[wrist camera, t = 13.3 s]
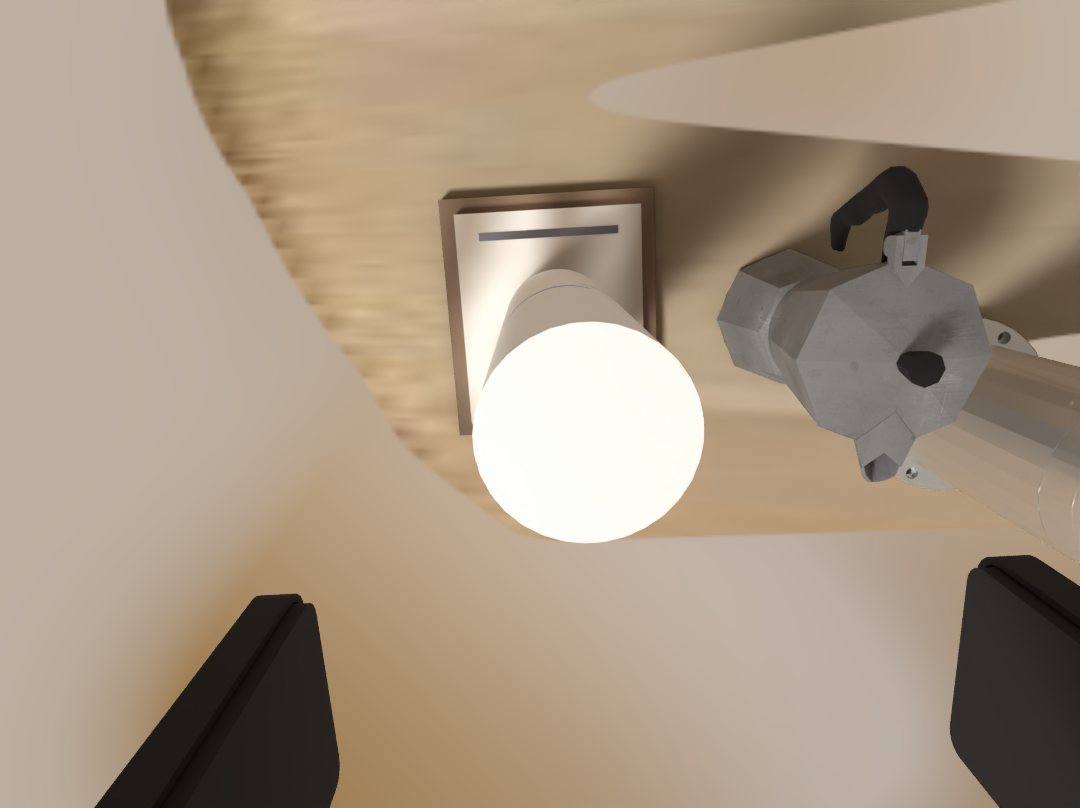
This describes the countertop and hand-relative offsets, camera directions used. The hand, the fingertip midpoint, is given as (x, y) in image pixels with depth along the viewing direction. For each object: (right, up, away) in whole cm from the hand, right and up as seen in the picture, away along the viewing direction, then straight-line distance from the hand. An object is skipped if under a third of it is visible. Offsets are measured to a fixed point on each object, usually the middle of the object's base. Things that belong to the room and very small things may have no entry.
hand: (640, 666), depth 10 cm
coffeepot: (+15, +11, +37) cm, 42 cm away
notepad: (-1, +10, +37) cm, 38 cm away
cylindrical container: (0, +9, +35) cm, 37 cm away
